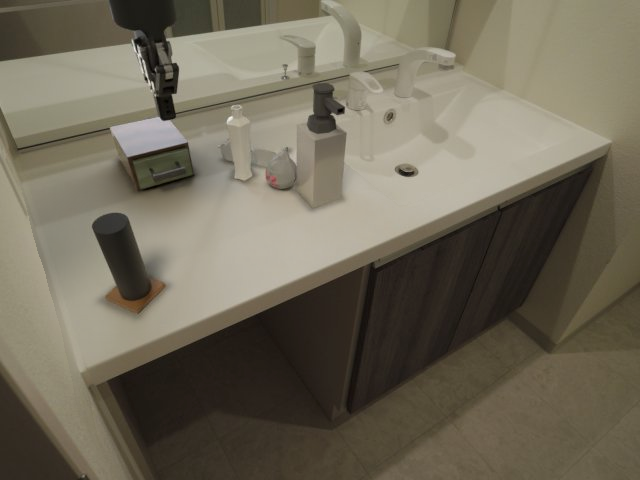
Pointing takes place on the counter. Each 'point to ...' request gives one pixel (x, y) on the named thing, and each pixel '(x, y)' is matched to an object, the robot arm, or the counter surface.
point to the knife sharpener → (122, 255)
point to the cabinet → (146, 142)
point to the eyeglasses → (258, 155)
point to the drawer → (162, 167)
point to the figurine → (281, 170)
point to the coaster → (138, 304)
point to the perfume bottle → (240, 142)
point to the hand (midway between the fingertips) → (167, 118)
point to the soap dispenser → (321, 150)
